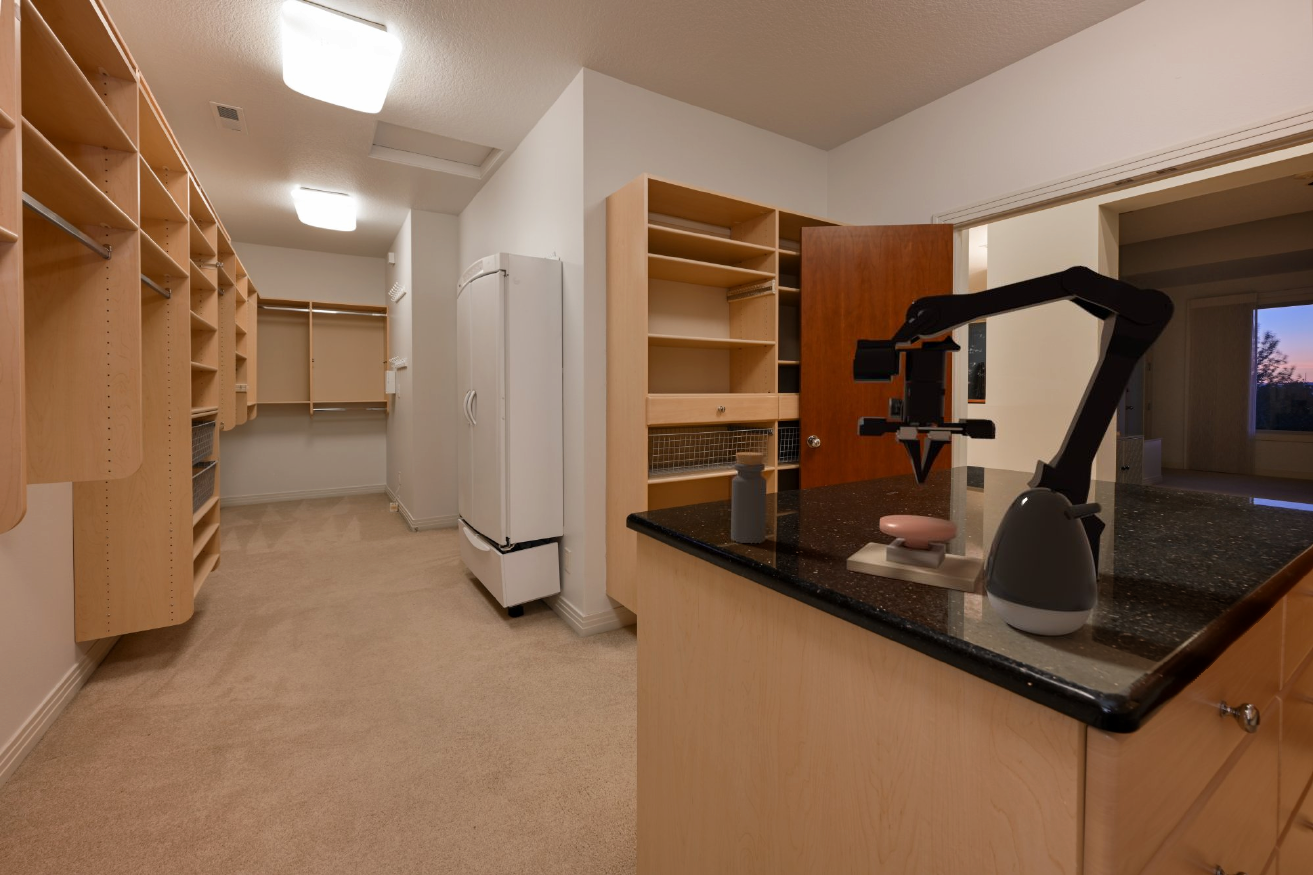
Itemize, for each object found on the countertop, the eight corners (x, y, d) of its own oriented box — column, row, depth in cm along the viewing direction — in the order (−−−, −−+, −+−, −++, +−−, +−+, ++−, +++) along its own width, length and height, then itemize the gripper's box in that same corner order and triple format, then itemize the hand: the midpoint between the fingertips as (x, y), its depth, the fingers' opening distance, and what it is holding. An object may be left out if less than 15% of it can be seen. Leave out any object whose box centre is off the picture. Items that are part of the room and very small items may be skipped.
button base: (984, 569, 83) (985, 545, 82) (973, 592, 73) (974, 565, 73) (869, 551, 92) (870, 529, 92) (846, 569, 82) (847, 545, 82)
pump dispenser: (1067, 655, 55) (1076, 499, 54) (962, 619, 64) (969, 484, 63) (1115, 634, 60) (1125, 491, 59) (1012, 602, 69) (1019, 478, 68)
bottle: (765, 545, 95) (767, 455, 94) (729, 543, 96) (731, 454, 95) (765, 536, 101) (767, 452, 100) (732, 535, 102) (733, 451, 101)
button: (960, 543, 83) (961, 520, 83) (949, 559, 75) (950, 534, 75) (888, 533, 89) (889, 512, 89) (870, 547, 81) (871, 523, 81)
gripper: (979, 383, 93) (974, 479, 94) (857, 383, 98) (854, 473, 99) (999, 381, 82) (993, 489, 83) (861, 381, 87) (857, 483, 89)
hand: (920, 483), depth 89 cm, fingers closed
